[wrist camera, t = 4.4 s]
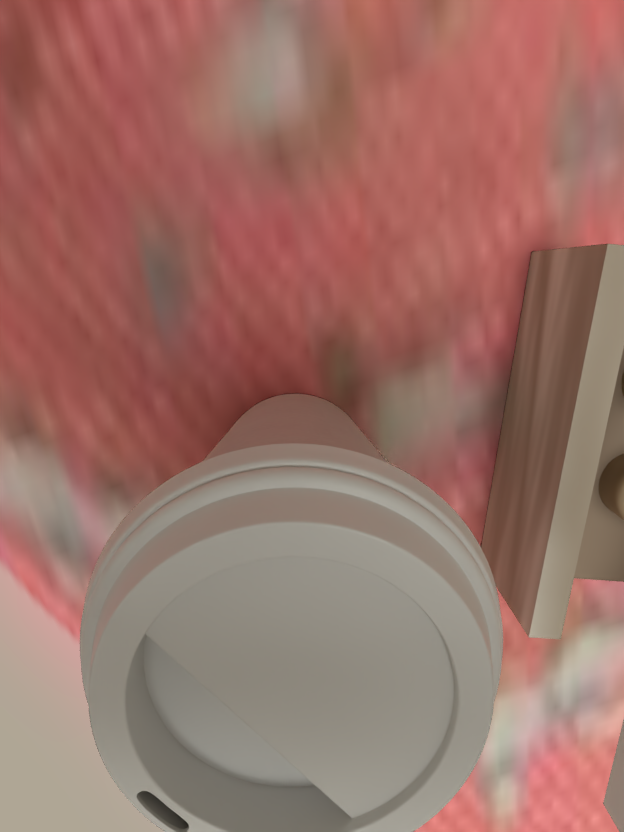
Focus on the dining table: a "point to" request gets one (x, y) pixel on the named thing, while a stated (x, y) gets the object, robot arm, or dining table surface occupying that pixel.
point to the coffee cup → (291, 637)
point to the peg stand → (561, 439)
